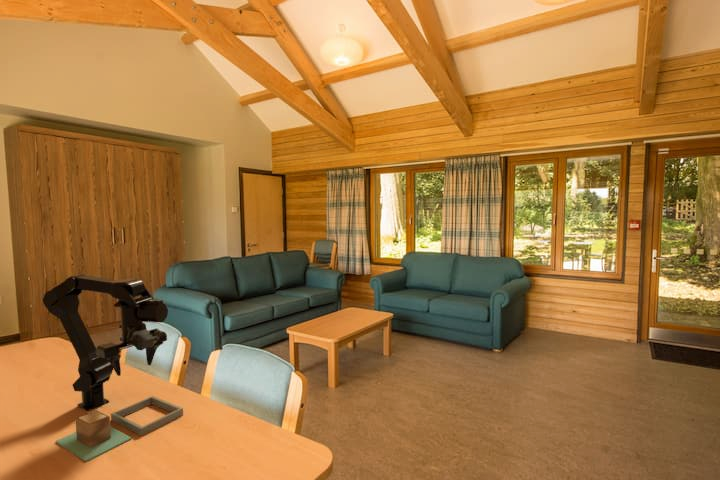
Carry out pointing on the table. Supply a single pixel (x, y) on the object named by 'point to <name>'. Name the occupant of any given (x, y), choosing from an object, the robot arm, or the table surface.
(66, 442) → the mat
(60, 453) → the table surface
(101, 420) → the walnut block
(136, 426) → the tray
